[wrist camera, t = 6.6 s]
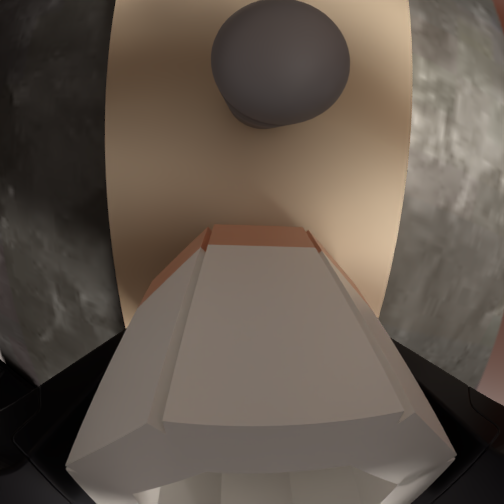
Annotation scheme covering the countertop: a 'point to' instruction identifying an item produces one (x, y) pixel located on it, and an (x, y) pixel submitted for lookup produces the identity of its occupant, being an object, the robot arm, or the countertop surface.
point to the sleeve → (257, 387)
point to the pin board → (257, 129)
